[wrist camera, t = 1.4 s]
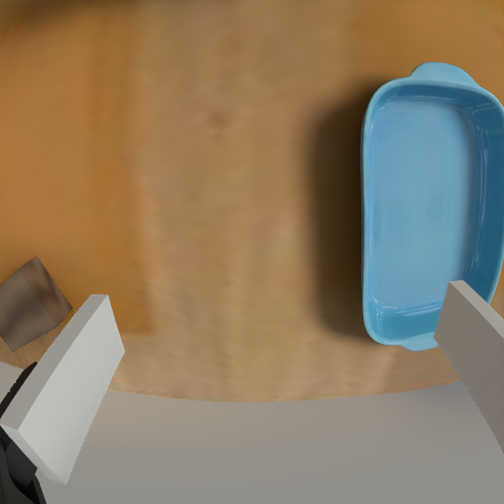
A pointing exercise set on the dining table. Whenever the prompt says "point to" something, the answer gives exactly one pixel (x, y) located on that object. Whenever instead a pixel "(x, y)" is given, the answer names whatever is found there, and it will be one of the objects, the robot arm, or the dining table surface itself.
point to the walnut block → (30, 305)
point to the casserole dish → (428, 200)
